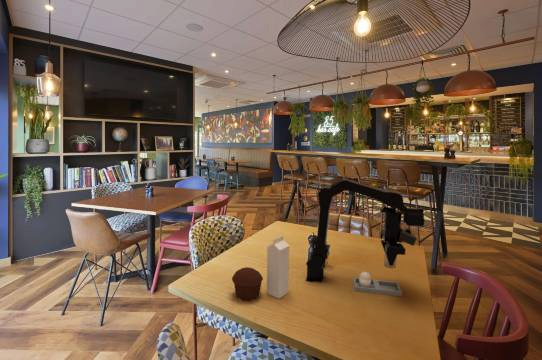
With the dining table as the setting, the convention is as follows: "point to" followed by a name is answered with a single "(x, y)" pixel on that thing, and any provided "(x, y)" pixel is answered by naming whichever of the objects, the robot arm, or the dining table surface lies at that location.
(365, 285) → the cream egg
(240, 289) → the muffin
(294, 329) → the dining table surface
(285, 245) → the milk
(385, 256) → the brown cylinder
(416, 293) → the dining table surface
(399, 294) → the grey flat rectangular tray
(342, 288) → the dining table surface
